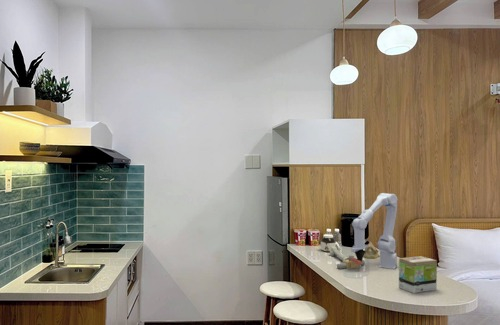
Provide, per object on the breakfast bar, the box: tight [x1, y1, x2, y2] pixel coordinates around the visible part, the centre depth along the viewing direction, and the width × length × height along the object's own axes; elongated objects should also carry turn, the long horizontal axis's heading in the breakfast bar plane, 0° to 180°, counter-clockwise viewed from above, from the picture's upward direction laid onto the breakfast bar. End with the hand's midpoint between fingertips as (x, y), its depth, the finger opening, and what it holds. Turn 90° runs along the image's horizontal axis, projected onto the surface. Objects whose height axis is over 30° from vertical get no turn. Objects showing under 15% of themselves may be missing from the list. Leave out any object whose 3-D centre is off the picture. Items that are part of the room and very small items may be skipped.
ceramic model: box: [363, 241, 380, 259], centre depth 250 cm, size 14×11×10 cm
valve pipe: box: [336, 259, 366, 270], centre depth 222 cm, size 20×6×4 cm, turn 120°
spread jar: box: [320, 233, 341, 254], centre depth 265 cm, size 12×11×12 cm
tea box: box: [398, 255, 438, 294], centre depth 182 cm, size 15×10×15 cm
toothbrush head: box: [329, 247, 349, 261], centre depth 242 cm, size 5×7×25 cm
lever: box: [348, 255, 363, 266], centre depth 218 cm, size 12×3×2 cm, turn 11°
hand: (359, 262), depth 216 cm, fingers closed, pressing on lever
